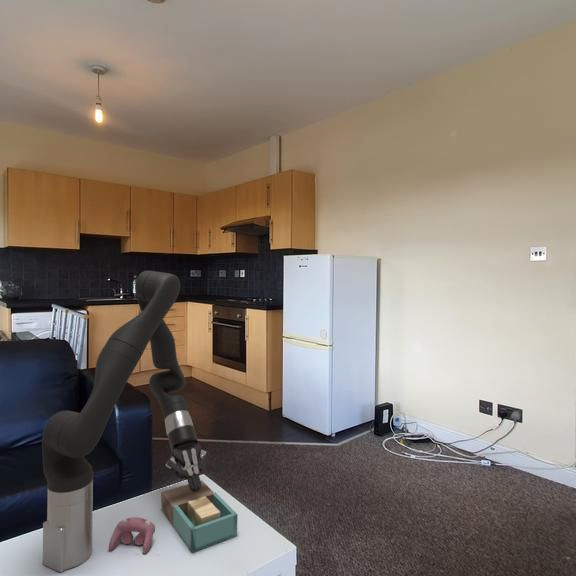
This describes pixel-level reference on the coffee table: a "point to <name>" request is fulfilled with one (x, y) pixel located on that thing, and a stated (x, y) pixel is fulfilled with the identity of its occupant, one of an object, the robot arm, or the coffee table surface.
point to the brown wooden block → (182, 498)
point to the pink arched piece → (133, 525)
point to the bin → (206, 526)
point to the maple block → (202, 511)
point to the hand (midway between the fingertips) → (196, 490)
